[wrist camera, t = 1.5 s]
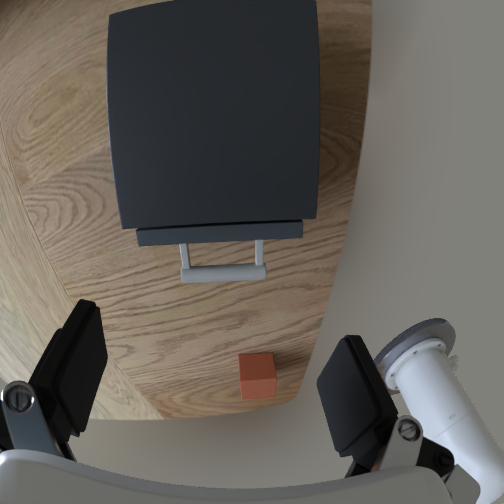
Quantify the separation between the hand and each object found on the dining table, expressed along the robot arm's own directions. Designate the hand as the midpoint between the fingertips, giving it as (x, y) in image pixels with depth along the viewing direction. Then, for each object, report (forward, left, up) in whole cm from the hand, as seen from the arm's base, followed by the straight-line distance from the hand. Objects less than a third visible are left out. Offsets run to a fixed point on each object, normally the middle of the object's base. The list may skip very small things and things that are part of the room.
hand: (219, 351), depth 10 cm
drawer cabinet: (0, -9, -19) cm, 21 cm away
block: (-3, +23, -19) cm, 30 cm away
